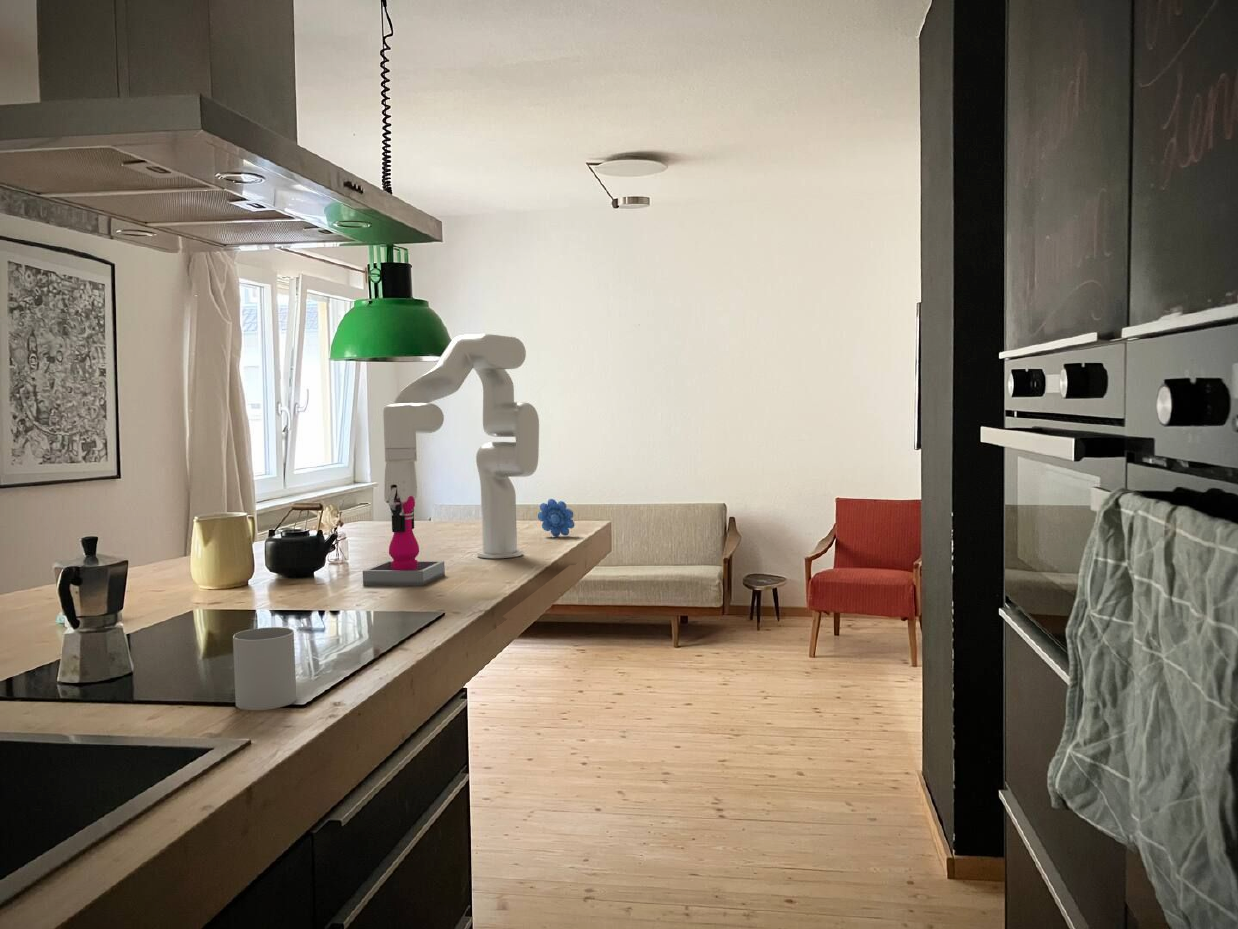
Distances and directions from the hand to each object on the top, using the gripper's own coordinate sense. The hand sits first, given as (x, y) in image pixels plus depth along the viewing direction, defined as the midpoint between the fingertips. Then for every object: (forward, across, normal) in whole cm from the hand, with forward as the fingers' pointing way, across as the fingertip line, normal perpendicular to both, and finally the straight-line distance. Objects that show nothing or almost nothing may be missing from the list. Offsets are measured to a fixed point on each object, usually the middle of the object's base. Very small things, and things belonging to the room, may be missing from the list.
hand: (403, 529), depth 250 cm
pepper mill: (+10, 0, 0) cm, 10 cm away
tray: (+12, 0, 0) cm, 12 cm away
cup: (+13, +100, +18) cm, 102 cm away
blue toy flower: (+13, -78, +20) cm, 82 cm away
